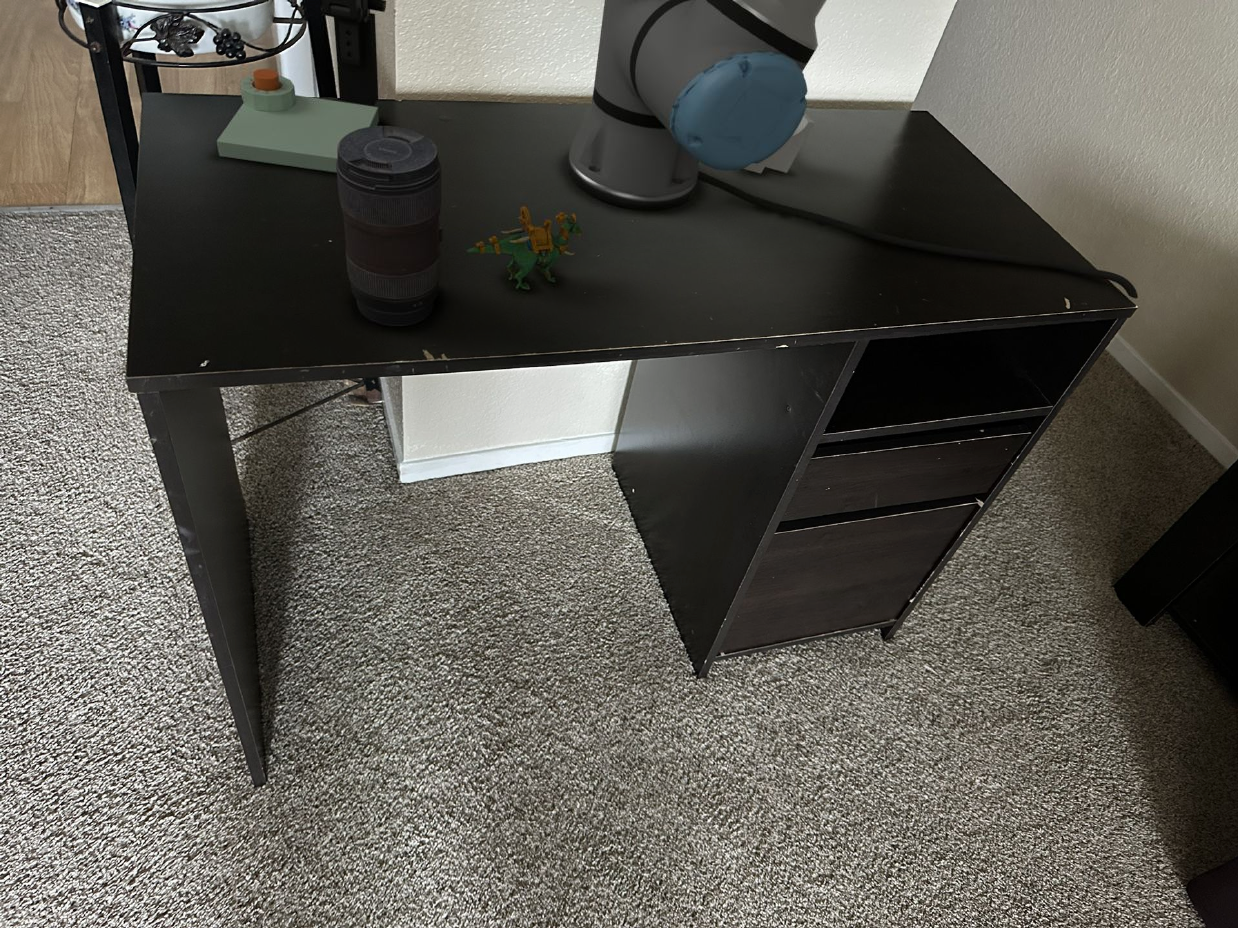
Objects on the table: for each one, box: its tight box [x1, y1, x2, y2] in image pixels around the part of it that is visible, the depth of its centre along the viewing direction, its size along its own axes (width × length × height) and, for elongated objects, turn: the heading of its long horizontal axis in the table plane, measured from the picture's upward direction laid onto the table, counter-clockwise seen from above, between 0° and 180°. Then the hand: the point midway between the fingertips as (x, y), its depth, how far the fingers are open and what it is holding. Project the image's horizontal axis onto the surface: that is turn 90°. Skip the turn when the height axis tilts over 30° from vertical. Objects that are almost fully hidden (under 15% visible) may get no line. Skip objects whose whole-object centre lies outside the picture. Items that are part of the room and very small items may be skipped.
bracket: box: [743, 112, 815, 174], centre depth 109 cm, size 13×7×8 cm, turn 19°
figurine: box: [466, 205, 582, 290], centre depth 81 cm, size 3×12×8 cm, turn 122°
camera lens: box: [336, 125, 444, 327], centre depth 73 cm, size 8×8×15 cm
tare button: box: [252, 68, 280, 91], centre depth 96 cm, size 3×3×2 cm
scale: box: [216, 74, 380, 174], centre depth 95 cm, size 14×13×4 cm
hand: (359, 99), depth 70 cm, fingers closed
